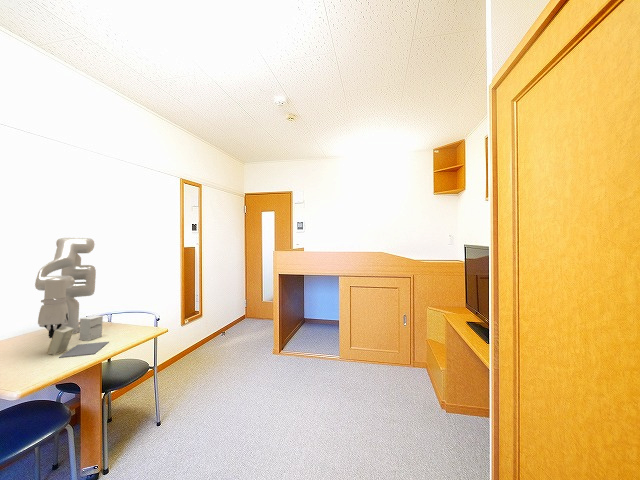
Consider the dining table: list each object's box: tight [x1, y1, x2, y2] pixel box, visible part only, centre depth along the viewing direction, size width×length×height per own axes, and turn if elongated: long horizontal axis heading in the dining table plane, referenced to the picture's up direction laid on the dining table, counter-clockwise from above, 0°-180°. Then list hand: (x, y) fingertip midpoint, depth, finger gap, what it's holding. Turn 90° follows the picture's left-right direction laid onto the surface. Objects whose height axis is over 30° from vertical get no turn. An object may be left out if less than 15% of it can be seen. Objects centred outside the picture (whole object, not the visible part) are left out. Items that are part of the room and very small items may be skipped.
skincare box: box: [46, 326, 74, 355], centre depth 126 cm, size 6×4×12 cm
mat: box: [58, 341, 110, 359], centre depth 130 cm, size 16×14×1 cm
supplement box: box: [78, 314, 103, 342], centre depth 146 cm, size 7×7×13 cm
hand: (53, 337), depth 125 cm, fingers closed
